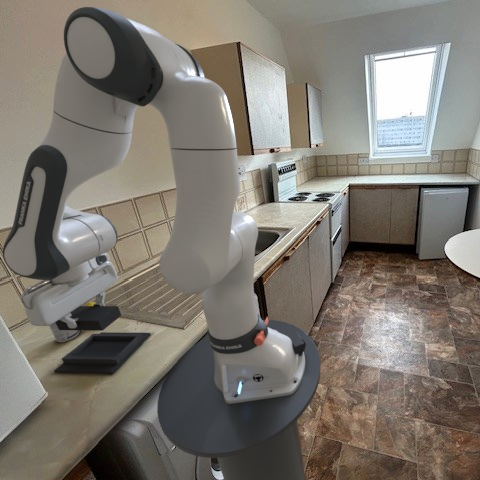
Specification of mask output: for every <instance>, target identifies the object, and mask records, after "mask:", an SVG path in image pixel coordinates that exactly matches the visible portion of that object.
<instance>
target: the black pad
mask: <svg viewBox="0 0 480 480" xmlns="http://www.w3.org/2000/svg"><path fill="white" fill-rule="evenodd" d="M70 313H71V316H70V318H72V319H79V322H80V325H79V326H77V327H76V328H69V327H68V325H67V323H65V322H63V321H61V320H58V321H56V322H55V323H56V325H57V327H58V329H59V330H80V331H95V332H98V331H101V332H103V331H104V330H106V329H107V328H108V327H109V326H110V325H112V324H113V323H114V322H116V321H117V320H118V319H119V318H120V317H122V313H121V310H120V308H119V306H118V305H105V306H85V305H81V306H79V307H78V308H76V309H75V310H73V311H72V312H70Z"/></svg>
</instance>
